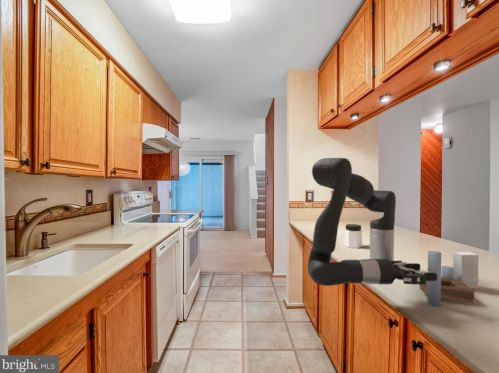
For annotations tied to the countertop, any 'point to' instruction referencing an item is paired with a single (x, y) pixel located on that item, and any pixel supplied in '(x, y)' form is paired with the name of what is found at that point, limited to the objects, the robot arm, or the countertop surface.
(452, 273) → the short pin
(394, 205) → the robot arm
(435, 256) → the long pin
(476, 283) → the skincare box
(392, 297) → the countertop surface
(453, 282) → the socket block
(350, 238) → the jar
